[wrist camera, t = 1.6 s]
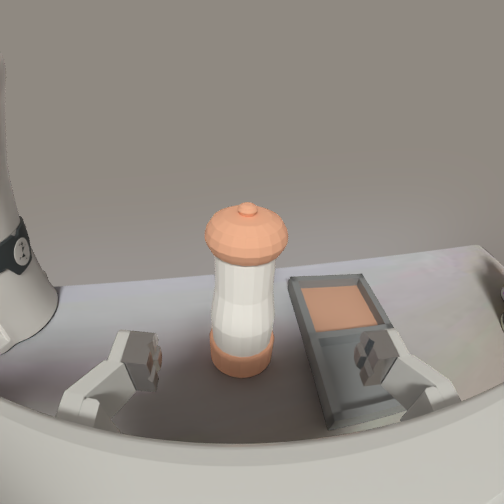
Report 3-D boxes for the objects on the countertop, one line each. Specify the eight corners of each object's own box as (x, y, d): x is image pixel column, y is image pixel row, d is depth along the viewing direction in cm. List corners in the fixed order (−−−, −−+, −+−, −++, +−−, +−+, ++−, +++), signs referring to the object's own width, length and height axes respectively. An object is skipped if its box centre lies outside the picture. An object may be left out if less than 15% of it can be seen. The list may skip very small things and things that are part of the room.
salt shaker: (249, 323, 38) (258, 183, 27) (283, 360, 33) (312, 212, 22) (200, 345, 34) (187, 197, 24) (231, 388, 29) (232, 235, 19)
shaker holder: (328, 430, 25) (334, 421, 24) (287, 289, 44) (289, 276, 43) (418, 405, 26) (428, 395, 25) (357, 285, 45) (361, 273, 44)
